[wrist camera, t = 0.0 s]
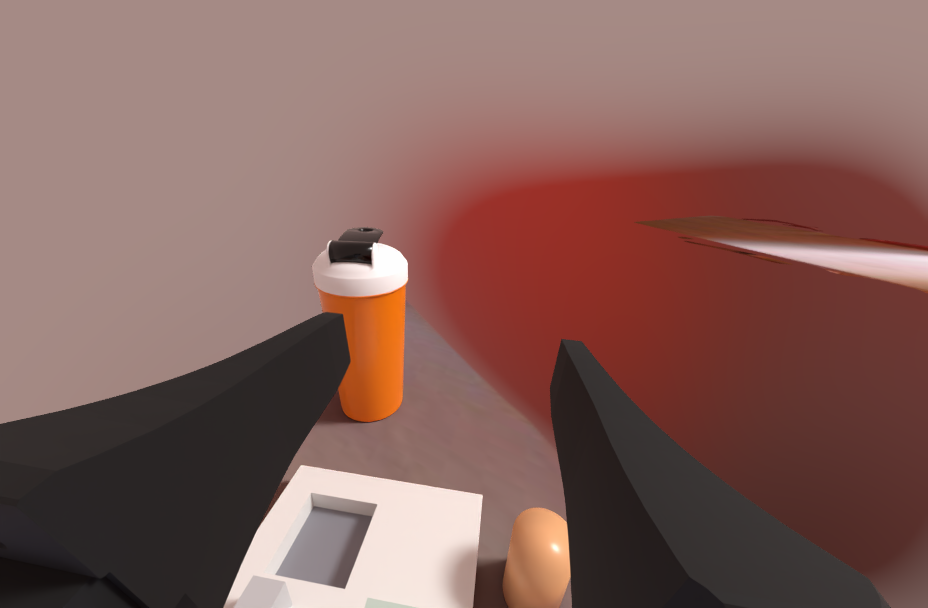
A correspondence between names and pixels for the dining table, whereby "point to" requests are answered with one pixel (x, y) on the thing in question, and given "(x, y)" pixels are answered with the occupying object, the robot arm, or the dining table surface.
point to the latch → (383, 604)
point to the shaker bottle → (367, 318)
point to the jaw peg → (537, 561)
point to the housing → (361, 545)
